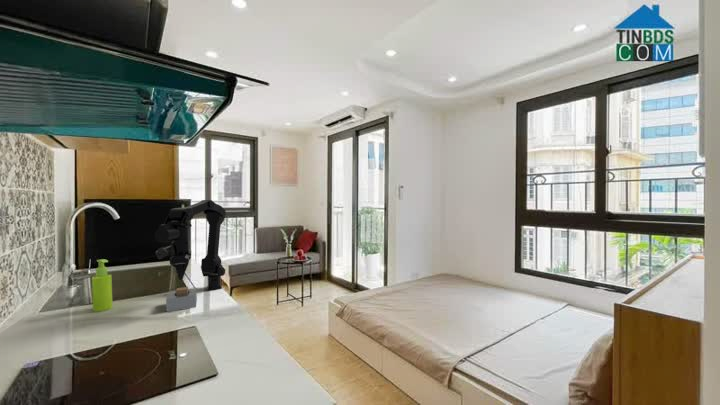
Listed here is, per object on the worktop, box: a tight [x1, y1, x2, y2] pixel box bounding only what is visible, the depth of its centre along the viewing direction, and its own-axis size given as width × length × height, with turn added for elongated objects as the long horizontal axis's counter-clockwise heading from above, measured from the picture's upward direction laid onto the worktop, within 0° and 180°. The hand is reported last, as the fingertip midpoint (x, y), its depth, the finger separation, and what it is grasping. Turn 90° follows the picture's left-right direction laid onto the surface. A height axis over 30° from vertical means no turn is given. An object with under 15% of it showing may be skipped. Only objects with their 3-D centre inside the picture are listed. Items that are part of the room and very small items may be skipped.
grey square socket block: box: [165, 287, 198, 312], centre depth 120 cm, size 10×10×5 cm
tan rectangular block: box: [175, 286, 189, 296], centre depth 120 cm, size 3×4×7 cm
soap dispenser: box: [91, 258, 113, 313], centre depth 117 cm, size 6×7×20 cm
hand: (181, 276), depth 120 cm, fingers open, 9 cm apart
